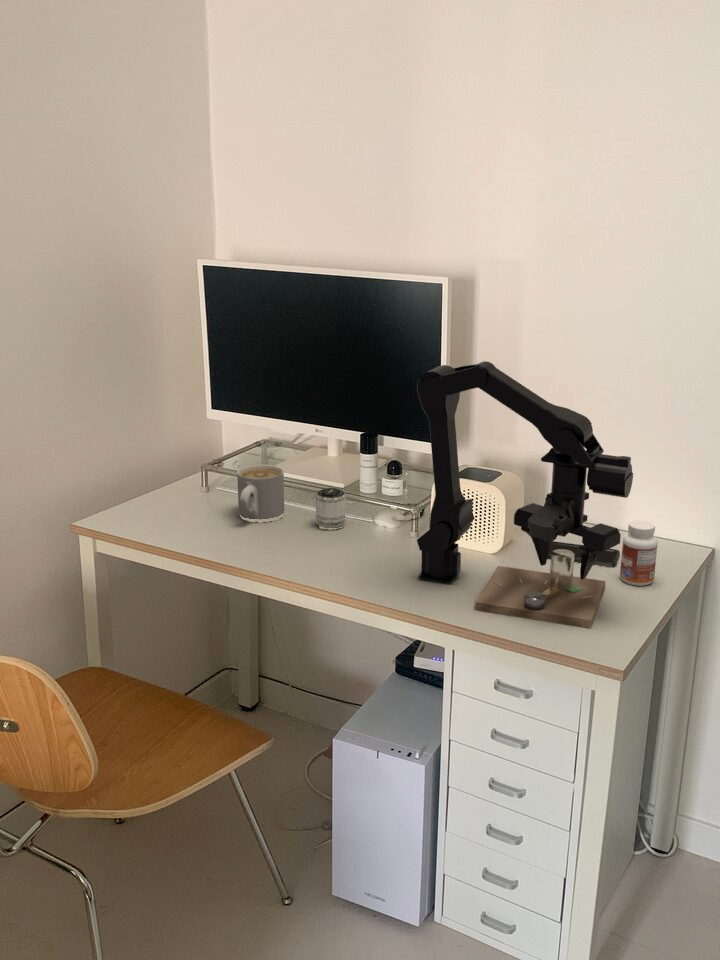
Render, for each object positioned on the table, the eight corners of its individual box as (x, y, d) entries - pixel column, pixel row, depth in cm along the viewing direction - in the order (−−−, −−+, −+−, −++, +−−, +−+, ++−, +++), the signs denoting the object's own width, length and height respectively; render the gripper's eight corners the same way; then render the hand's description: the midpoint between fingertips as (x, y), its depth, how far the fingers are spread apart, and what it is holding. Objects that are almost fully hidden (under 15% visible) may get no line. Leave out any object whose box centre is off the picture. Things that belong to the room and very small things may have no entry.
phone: (545, 540, 207) (620, 549, 202) (544, 545, 207) (620, 555, 202) (537, 554, 200) (615, 564, 195) (537, 559, 200) (615, 570, 195)
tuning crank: (538, 611, 174) (540, 573, 171) (518, 604, 176) (520, 566, 174) (580, 587, 183) (583, 551, 180) (561, 581, 185) (564, 545, 183)
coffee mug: (257, 504, 230) (256, 462, 227) (293, 512, 225) (292, 469, 222) (219, 522, 219) (217, 478, 216) (256, 531, 214) (254, 486, 211)
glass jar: (311, 528, 215) (310, 493, 213) (323, 518, 221) (323, 484, 218) (338, 532, 213) (338, 497, 211) (350, 522, 219) (350, 488, 216)
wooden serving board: (474, 609, 178) (475, 601, 178) (497, 573, 193) (498, 564, 193) (590, 628, 171) (591, 619, 171) (604, 588, 187) (605, 580, 186)
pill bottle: (614, 573, 193) (619, 518, 189) (646, 572, 193) (651, 517, 190) (626, 587, 187) (631, 531, 183) (658, 586, 188) (664, 529, 184)
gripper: (496, 486, 176) (492, 569, 181) (587, 513, 164) (581, 601, 169) (534, 472, 184) (530, 552, 189) (625, 497, 171) (618, 582, 176)
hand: (562, 571), depth 180 cm, fingers open, 8 cm apart
